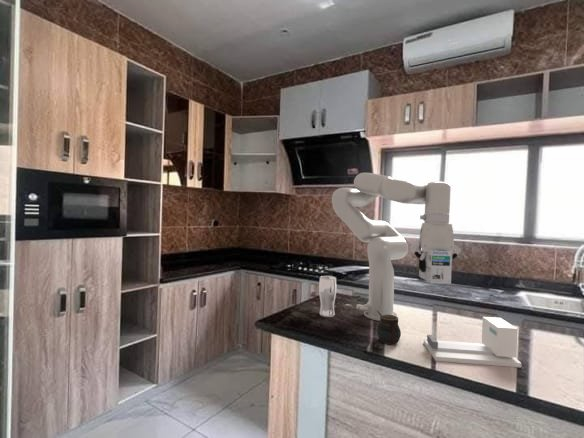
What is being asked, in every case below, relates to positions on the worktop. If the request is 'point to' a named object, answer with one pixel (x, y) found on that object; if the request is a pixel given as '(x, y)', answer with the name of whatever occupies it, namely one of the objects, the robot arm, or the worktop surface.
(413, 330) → the worktop surface
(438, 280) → the light bulb box
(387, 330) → the mate gourd
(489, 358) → the mounting plate
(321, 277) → the beer glass
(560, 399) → the worktop surface
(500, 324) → the mounted module
